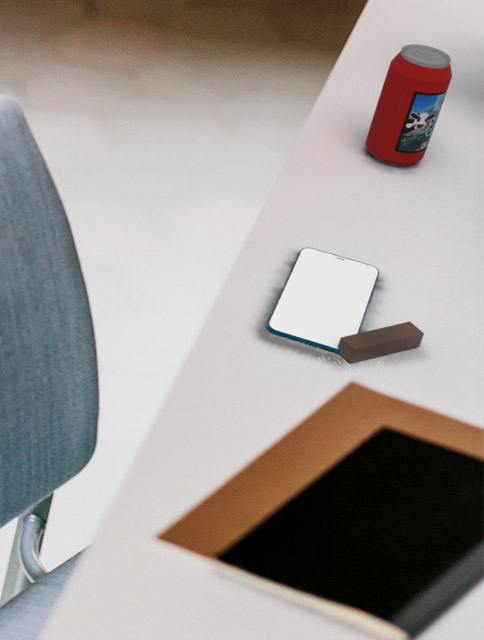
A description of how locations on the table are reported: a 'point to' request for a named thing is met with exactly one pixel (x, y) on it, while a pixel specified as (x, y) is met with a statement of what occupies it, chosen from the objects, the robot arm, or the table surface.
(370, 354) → the walnut stick
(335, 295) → the smartphone
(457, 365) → the table surface
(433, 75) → the beverage can
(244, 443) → the table surface
